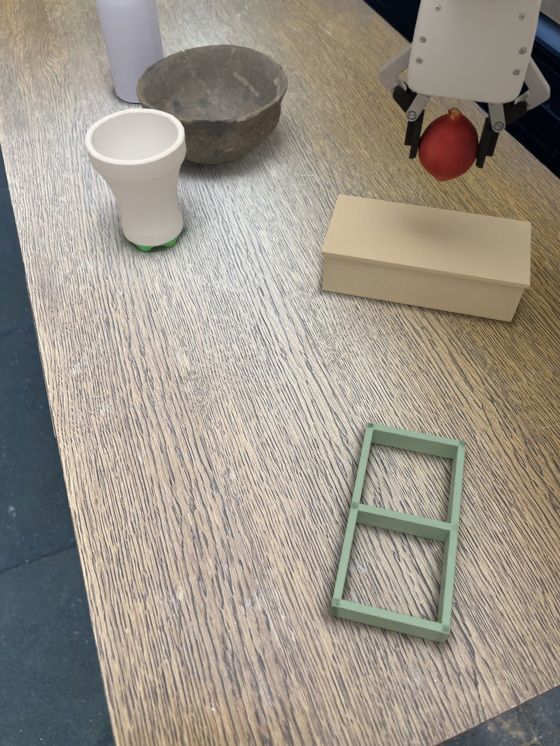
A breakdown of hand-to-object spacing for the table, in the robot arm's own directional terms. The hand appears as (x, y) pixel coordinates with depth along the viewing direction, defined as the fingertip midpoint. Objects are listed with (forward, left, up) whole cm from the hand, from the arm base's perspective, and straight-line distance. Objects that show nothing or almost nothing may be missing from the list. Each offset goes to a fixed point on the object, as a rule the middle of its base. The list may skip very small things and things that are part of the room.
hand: (446, 154), depth 65 cm
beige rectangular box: (0, 0, -17) cm, 17 cm away
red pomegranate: (0, 0, -3) cm, 3 cm away
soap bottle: (+49, -33, -17) cm, 62 cm away
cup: (+34, 0, -17) cm, 38 cm away
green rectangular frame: (-2, +33, -17) cm, 37 cm away
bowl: (+32, -21, -17) cm, 42 cm away
